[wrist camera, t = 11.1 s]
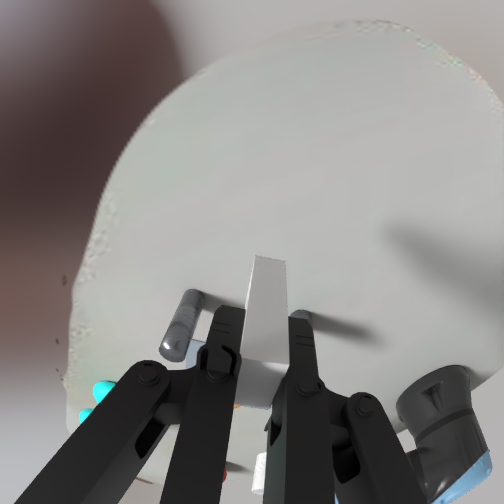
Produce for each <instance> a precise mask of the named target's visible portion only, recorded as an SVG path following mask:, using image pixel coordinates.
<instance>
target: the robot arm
mask: <svg viewBox="0 0 504 504" xmlns="http://www.w3.org/2000/svg"><path fill="white" fill-rule="evenodd" d="M314 346H315V343H314V335H313V328H312V327H311V325H310V324H309V322H308V320H307V319H302V318H295V317H289V316H288V303H287V280H286V261H283V260H277V259H272V258H267V257H262V256H257V255H255V259H254V264H253V269H252V274H251V279H250V284H249V288H248V293H247V298H246V304H245V309H240V308H235V307H230V306H225V305H222V306H221V307H220V308H218V309H217V310H216V311H215V313H214V317H213V320H212V323H211V327H210V330H209V334H208V337H207V340H206V344H204V345H203V346H201V347H200V348H199V350H198V352H197V358H196V365H195V366H193V367H191V368H188V369H184V370H167V368H166V367H165V366H164V365H162V364H161V363H159V362H156V361H153V360H143V361H140V362H137V363H135V364H134V365H133V366H131V367H130V369H129V370H128V371H127V372H126V373H125V374H124V375H123V376H122V378H121V379H120V380H119V381H118V382H117V383H116V384H115V386H114V387H113V388H112V389H111V390H110V391H109V392H108V394H107V395H106V396H105V397H104V398H103V399H102V400H101V402H100V403H99V404H98V405H97V406H96V407H95V408H94V410H93V411H92V412H91V413H90V414H89V415H88V417H87V418H86V419H85V420H84V421H83V422H82V423H81V425H80V426H79V427H78V428H77V429H76V430H75V432H74V433H73V434H72V435H71V436H70V438H69V439H68V440H67V441H66V442H65V443H64V444H63V446H62V447H61V448H60V449H59V450H58V452H57V453H56V454H55V455H54V456H53V458H52V459H51V460H50V461H49V462H48V463H47V465H46V466H45V467H44V468H43V469H42V470H41V472H40V473H39V474H38V475H37V476H36V478H35V479H34V480H33V481H32V483H31V484H30V485H29V486H28V487H27V489H26V490H25V491H24V492H23V494H22V495H21V496H20V497H19V498H18V500H17V501H16V502H15V503H14V504H118V503H119V501H120V500H121V498H122V497H123V495H124V494H125V492H126V491H127V490H128V488H129V487H130V485H131V484H132V482H133V481H134V479H135V478H136V476H137V475H138V473H139V472H140V470H141V469H142V467H143V466H144V464H145V463H146V461H147V460H148V458H149V457H150V455H151V454H152V452H153V451H154V449H155V448H156V446H157V445H158V443H159V442H160V440H161V439H162V437H163V436H164V434H165V433H166V431H167V430H168V428H169V426H170V425H171V424H180V427H179V431H178V435H177V438H176V442H175V446H174V450H173V453H172V457H171V461H170V465H169V468H168V472H167V476H166V480H165V484H164V488H163V492H162V496H161V500H160V504H219V502H220V495H221V489H222V482H223V476H224V469H225V462H226V456H227V449H228V442H229V436H230V429H231V422H232V415H233V409H234V404H236V405H242V406H248V407H255V408H262V409H270V407H271V405H272V414H271V416H270V418H269V420H268V422H267V424H266V426H265V429H264V431H267V430H268V438H267V453H266V467H265V480H264V493H263V504H448V503H450V502H452V501H454V500H455V499H457V498H459V497H460V496H462V495H464V494H465V493H467V492H468V491H470V490H471V489H473V488H474V487H476V486H477V485H479V484H480V483H481V482H482V481H484V480H485V479H486V478H487V477H488V476H489V475H490V473H491V471H492V462H491V458H490V455H489V452H490V450H489V449H488V447H487V444H486V442H485V439H484V436H483V434H482V431H481V428H480V426H479V423H478V421H477V418H476V416H475V413H474V411H473V408H472V403H471V392H470V380H469V377H468V375H467V373H466V371H465V369H464V368H463V367H461V366H448V367H444V368H441V369H438V370H436V371H434V372H432V373H430V374H428V375H426V376H424V377H423V378H421V379H419V380H418V381H416V382H415V383H414V384H412V385H411V386H410V387H409V388H408V389H407V390H405V391H404V393H403V394H402V395H401V396H400V397H399V399H398V401H397V403H396V410H397V413H398V417H399V419H400V420H401V421H402V422H403V423H405V425H406V427H407V429H408V430H409V431H410V433H411V434H412V435H413V437H414V440H415V444H416V447H417V449H415V450H412V451H410V452H407V453H405V452H404V450H403V448H402V446H401V443H400V441H399V439H398V437H397V435H396V433H395V431H394V429H393V427H392V425H391V423H390V421H389V419H388V417H387V415H386V413H385V411H384V409H383V407H382V405H381V403H380V402H379V400H378V399H377V398H376V397H374V396H373V395H371V394H369V393H366V392H358V393H355V394H353V395H352V396H351V397H350V398H348V397H345V396H342V395H339V394H336V393H334V392H332V391H330V390H329V389H327V388H326V387H325V384H324V382H323V381H322V380H321V379H320V378H319V376H318V368H317V360H316V351H315V347H314Z"/></svg>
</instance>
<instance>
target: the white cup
mask: <svg viewBox="0 0 504 504" xmlns="http://www.w3.org/2000/svg"><path fill="white" fill-rule="evenodd" d="M266 453H267V452H263V453H260V454H259V455H258V456H257V461H256V466H255V472H254V478H253V484H252V492H253V493H255V494H259V495H263V493H264V480H265V467H266Z"/></svg>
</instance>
